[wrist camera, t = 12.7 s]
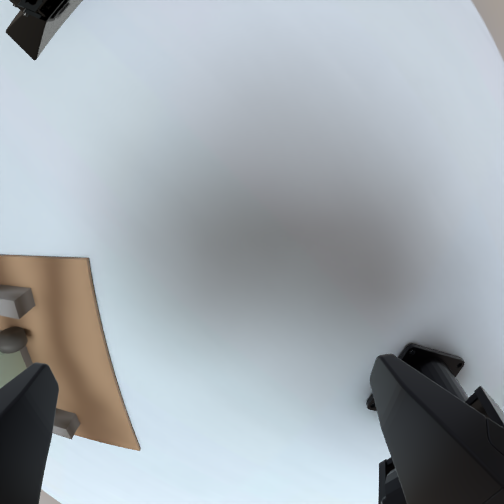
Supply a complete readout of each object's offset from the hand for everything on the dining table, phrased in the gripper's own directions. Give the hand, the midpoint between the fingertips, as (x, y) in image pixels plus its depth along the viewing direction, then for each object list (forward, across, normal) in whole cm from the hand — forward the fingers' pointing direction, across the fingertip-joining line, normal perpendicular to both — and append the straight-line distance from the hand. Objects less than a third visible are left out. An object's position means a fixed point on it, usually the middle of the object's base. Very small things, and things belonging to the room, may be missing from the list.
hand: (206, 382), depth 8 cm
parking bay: (+13, +19, +12) cm, 26 cm away
